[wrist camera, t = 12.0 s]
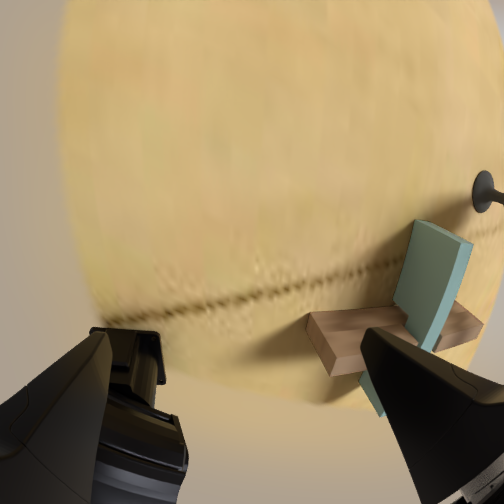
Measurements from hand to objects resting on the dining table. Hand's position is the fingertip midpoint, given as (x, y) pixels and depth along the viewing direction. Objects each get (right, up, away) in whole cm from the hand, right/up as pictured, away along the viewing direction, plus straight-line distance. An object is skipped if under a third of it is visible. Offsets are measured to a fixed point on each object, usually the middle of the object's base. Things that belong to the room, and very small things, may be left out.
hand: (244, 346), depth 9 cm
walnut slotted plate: (+15, -3, +17) cm, 23 cm away
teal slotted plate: (+15, -3, +17) cm, 23 cm away
